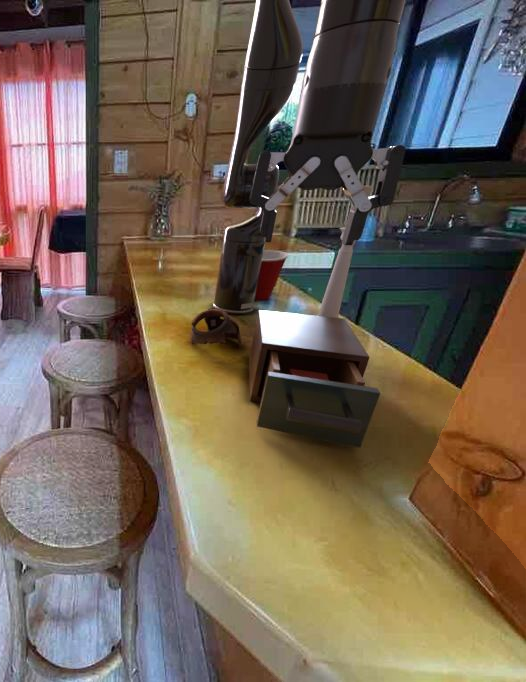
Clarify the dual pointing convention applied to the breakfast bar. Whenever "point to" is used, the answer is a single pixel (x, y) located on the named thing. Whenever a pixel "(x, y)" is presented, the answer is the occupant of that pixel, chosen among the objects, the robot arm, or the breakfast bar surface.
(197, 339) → the brown ring bracket
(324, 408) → the drawer
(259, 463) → the breakfast bar surface
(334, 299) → the candlestick
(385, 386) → the breakfast bar surface
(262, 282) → the plastic cup
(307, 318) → the cabinet
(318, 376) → the block
